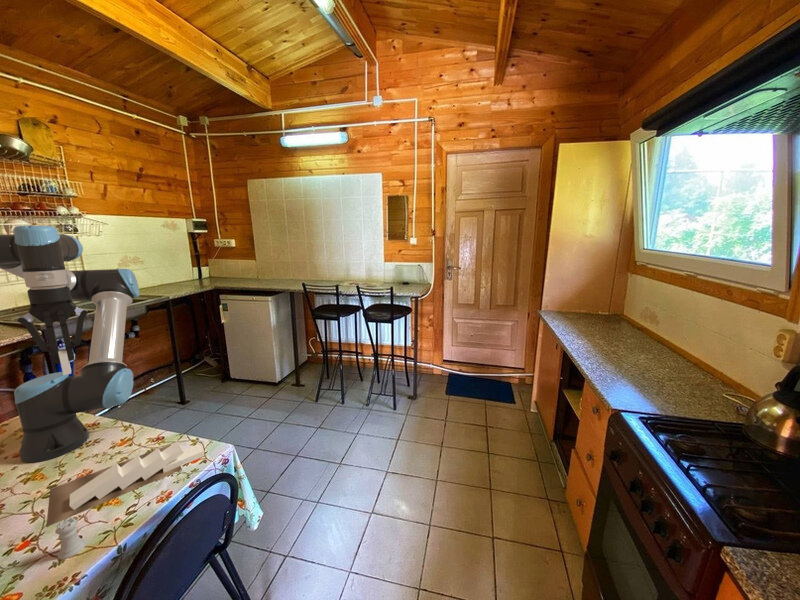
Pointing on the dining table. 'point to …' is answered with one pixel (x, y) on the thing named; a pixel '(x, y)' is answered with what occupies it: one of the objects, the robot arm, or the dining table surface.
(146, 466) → the domino
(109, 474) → the domino
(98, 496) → the domino
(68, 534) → the rook chess piece
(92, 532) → the dining table surface
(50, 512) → the walnut board
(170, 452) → the domino
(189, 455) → the domino
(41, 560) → the dining table surface
